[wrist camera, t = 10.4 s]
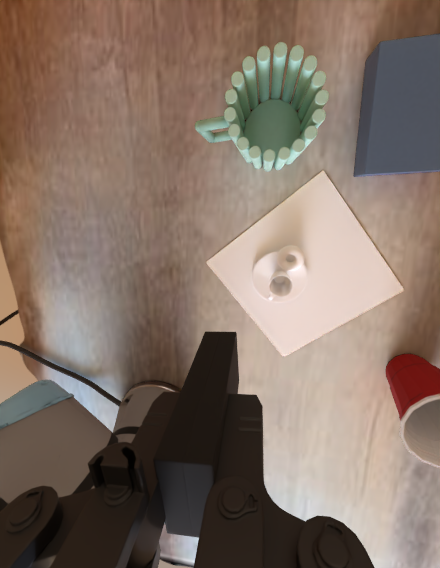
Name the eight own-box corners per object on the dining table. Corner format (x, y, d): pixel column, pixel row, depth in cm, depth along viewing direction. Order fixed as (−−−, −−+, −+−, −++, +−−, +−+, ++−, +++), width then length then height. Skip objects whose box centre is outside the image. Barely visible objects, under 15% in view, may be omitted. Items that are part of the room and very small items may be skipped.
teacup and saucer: (290, 235, 36) (293, 239, 33) (323, 279, 38) (329, 288, 34) (241, 271, 39) (238, 279, 36) (272, 310, 41) (273, 323, 37)
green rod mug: (283, 171, 38) (184, 180, 32) (280, 100, 35) (172, 96, 29) (375, 150, 26) (242, 159, 20) (382, 39, 23) (230, 12, 17)
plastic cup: (375, 333, 39) (419, 389, 28) (455, 343, 38) (535, 406, 27) (358, 391, 43) (391, 462, 32) (431, 403, 41) (492, 481, 30)
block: (353, 176, 33) (364, 174, 29) (365, 60, 29) (380, 41, 25) (433, 172, 32) (456, 169, 28) (457, 48, 28) (487, 26, 24)
